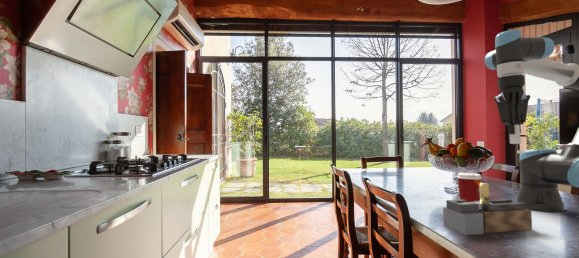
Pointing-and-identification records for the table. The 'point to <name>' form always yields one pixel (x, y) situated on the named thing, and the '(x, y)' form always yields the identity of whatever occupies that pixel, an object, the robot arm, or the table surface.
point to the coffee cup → (469, 186)
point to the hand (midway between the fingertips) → (515, 143)
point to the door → (506, 216)
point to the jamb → (463, 217)
